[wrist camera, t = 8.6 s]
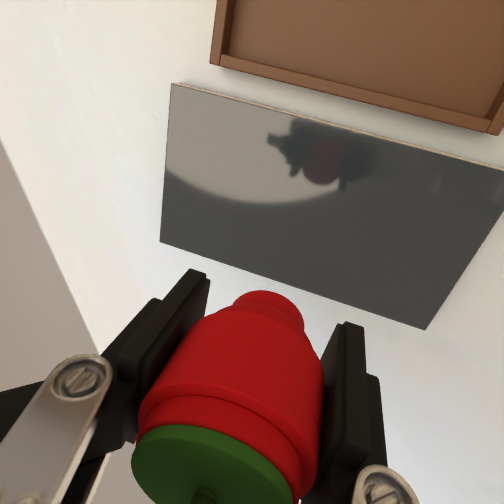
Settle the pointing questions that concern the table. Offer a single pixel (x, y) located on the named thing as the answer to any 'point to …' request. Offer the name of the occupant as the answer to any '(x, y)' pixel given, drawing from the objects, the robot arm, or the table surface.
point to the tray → (375, 52)
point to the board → (323, 204)
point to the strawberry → (234, 410)
